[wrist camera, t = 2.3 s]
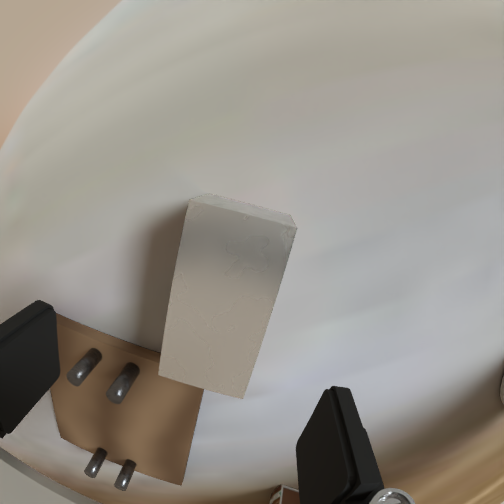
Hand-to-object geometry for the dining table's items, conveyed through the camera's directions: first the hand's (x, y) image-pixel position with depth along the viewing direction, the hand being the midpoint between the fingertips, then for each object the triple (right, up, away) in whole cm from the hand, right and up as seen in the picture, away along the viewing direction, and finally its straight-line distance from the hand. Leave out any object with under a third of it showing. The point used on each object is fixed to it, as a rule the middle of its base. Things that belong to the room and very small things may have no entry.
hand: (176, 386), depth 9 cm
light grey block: (+1, +2, +11) cm, 11 cm away
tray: (-9, -10, +14) cm, 20 cm away
